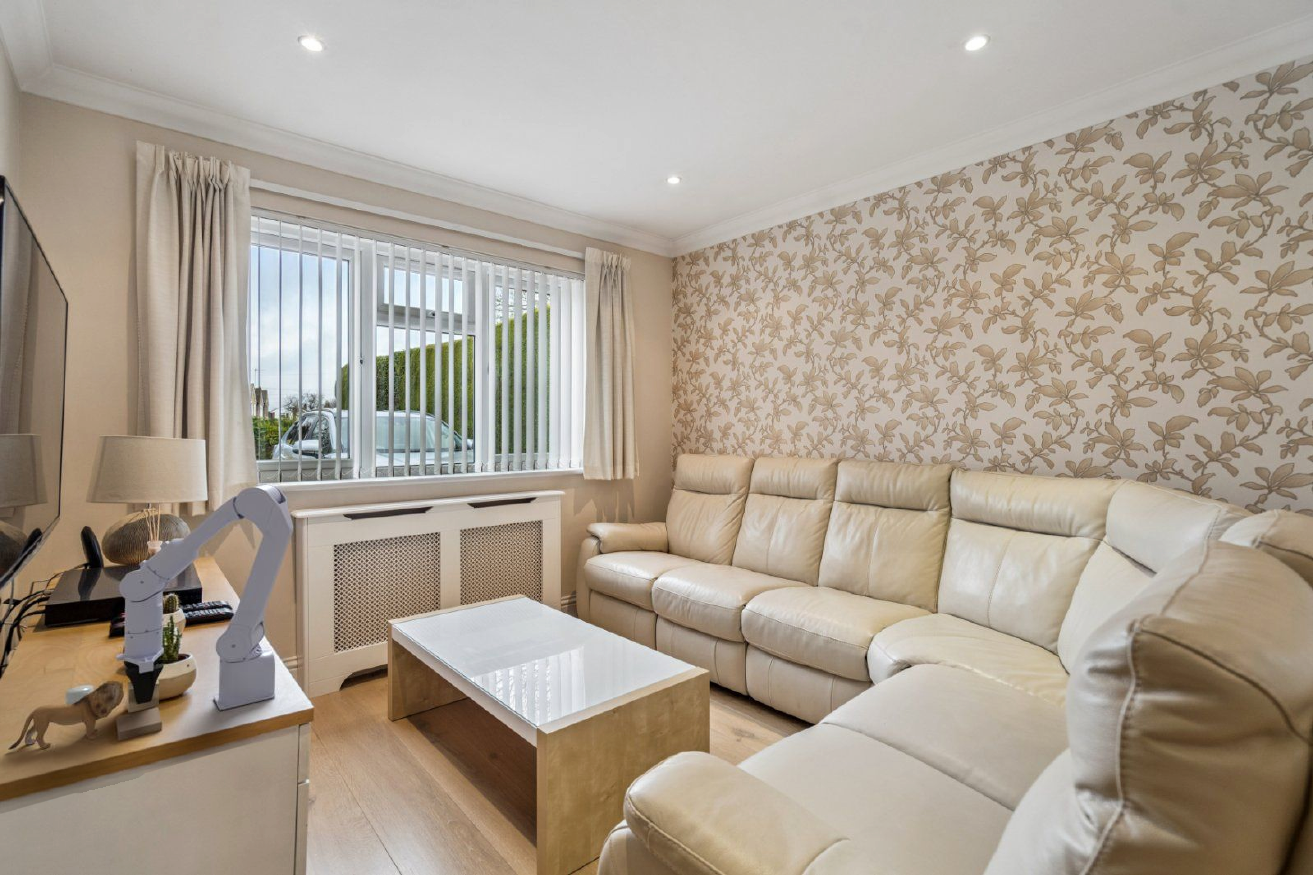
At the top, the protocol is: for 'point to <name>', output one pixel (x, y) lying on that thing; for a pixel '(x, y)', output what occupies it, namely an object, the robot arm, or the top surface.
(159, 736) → the top surface
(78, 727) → the top surface
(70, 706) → the lion figurine
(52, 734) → the top surface
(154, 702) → the oak block
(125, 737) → the plinth
